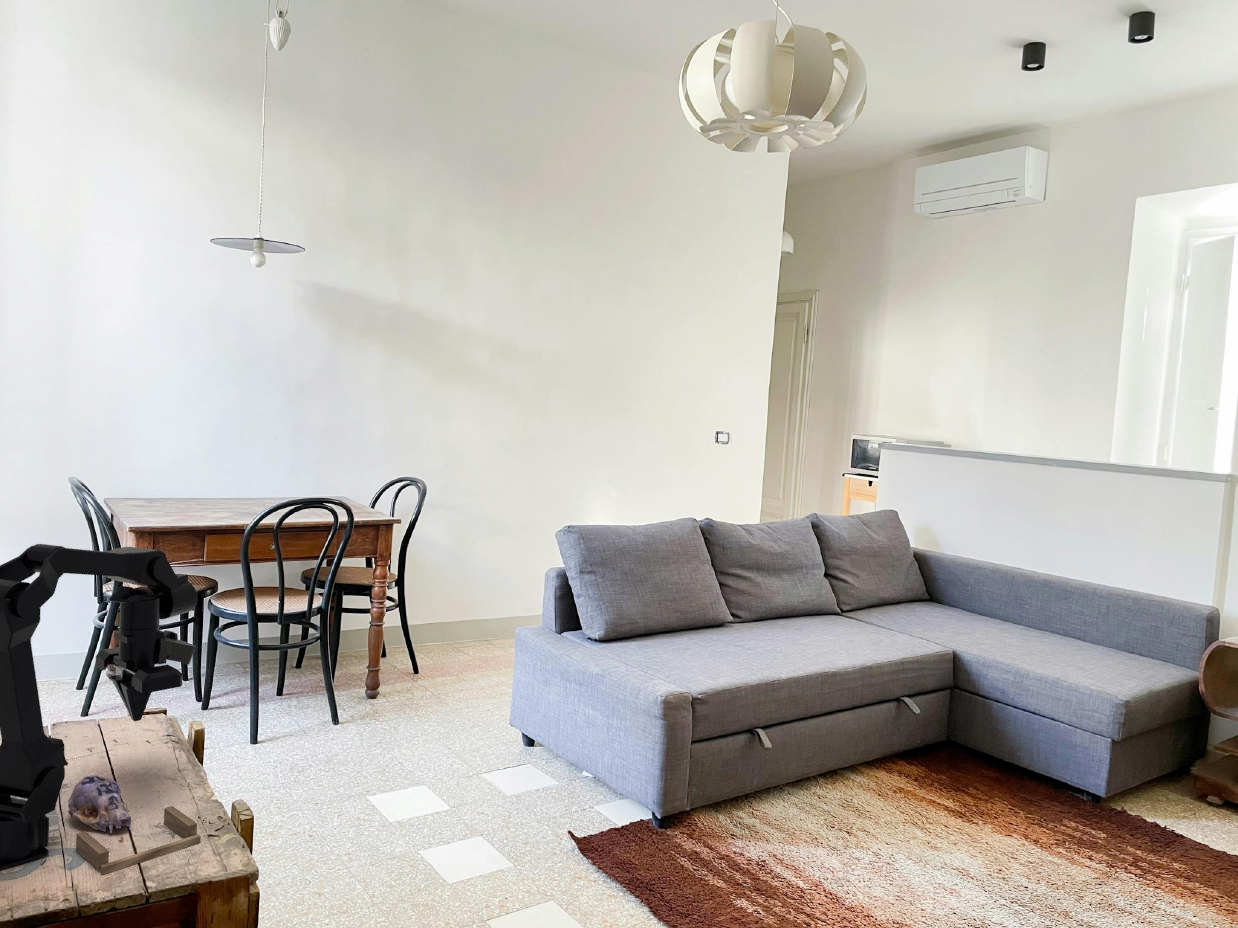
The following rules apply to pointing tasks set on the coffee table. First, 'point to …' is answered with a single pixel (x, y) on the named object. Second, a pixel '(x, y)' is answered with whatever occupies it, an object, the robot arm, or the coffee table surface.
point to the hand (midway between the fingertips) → (136, 720)
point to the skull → (99, 803)
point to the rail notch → (100, 855)
